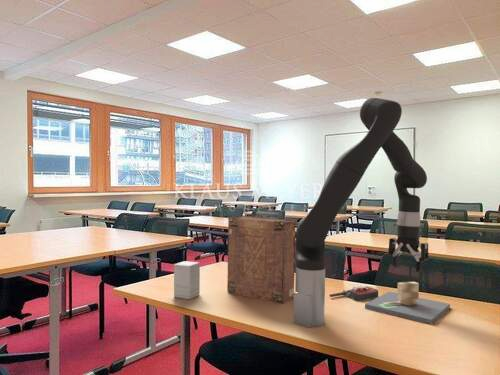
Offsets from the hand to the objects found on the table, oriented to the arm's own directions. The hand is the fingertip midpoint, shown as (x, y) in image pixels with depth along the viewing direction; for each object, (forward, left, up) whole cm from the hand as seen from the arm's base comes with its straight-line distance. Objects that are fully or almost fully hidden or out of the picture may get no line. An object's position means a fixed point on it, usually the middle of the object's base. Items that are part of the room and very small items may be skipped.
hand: (407, 269), depth 133 cm
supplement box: (-46, +66, -14) cm, 82 cm away
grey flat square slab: (0, -1, -14) cm, 14 cm away
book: (-25, +47, -14) cm, 56 cm away
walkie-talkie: (-1, +19, -14) cm, 24 cm away
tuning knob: (-3, +1, -12) cm, 12 cm away
